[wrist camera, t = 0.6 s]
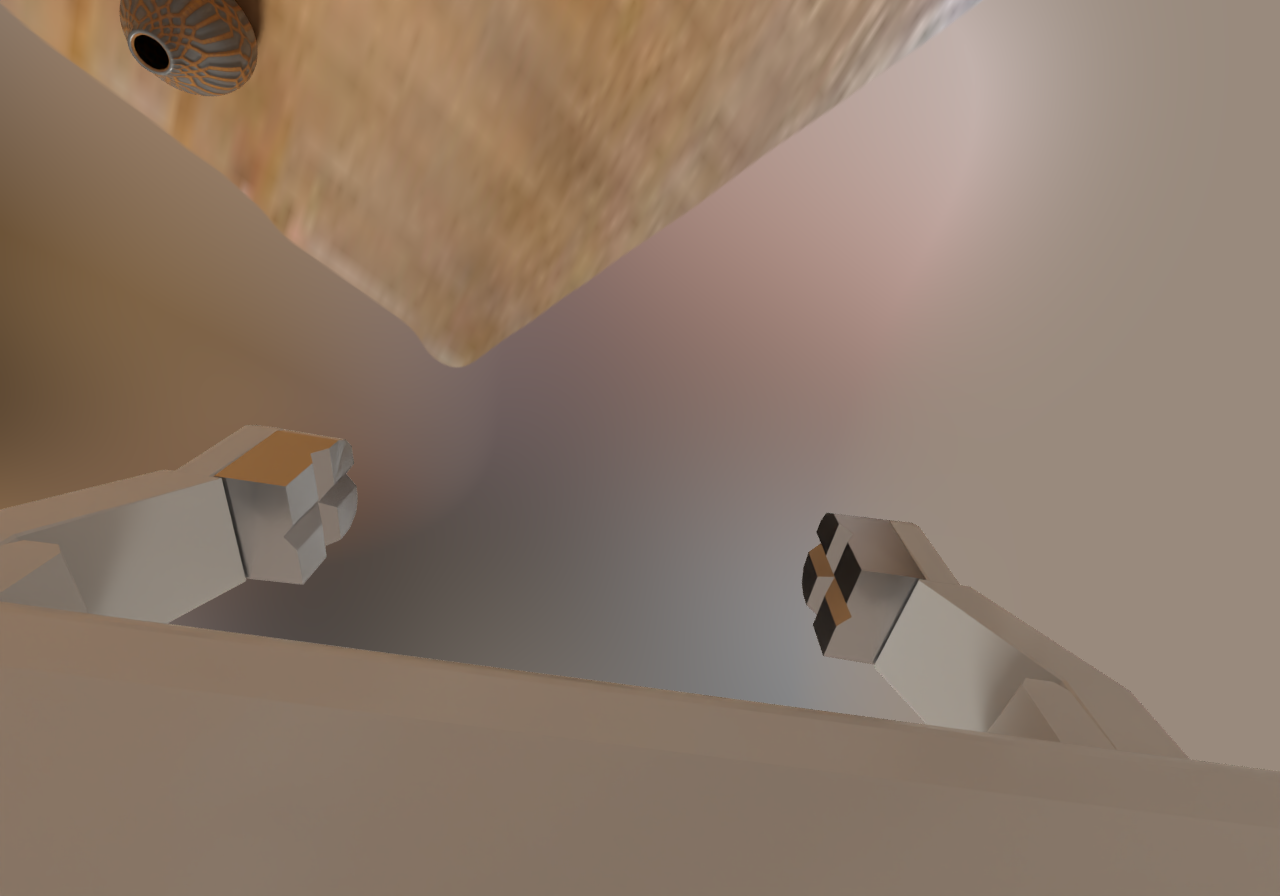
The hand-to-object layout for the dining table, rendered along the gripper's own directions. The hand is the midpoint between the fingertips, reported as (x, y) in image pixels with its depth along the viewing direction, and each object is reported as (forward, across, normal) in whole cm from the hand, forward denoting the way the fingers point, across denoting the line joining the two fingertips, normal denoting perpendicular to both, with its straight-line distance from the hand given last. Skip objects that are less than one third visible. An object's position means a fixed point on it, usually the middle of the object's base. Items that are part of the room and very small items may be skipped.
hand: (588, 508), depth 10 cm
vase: (+41, +33, -9) cm, 53 cm away
